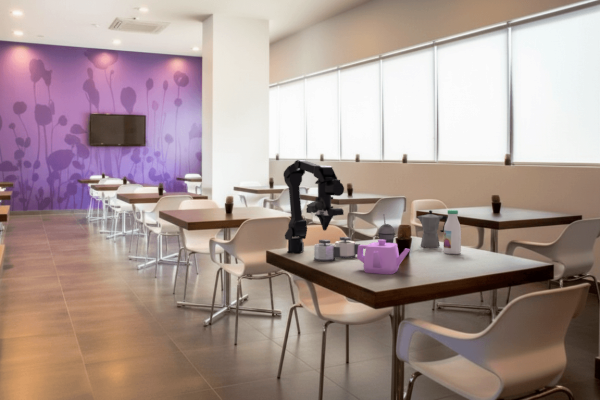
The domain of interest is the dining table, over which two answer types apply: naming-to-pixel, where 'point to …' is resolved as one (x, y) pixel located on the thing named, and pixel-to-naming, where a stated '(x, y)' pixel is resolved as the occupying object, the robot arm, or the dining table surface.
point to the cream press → (347, 248)
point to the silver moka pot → (326, 252)
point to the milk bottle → (452, 234)
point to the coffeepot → (431, 229)
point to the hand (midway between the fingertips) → (324, 230)
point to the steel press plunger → (324, 241)
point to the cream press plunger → (345, 239)
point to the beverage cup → (386, 232)
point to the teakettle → (381, 257)
